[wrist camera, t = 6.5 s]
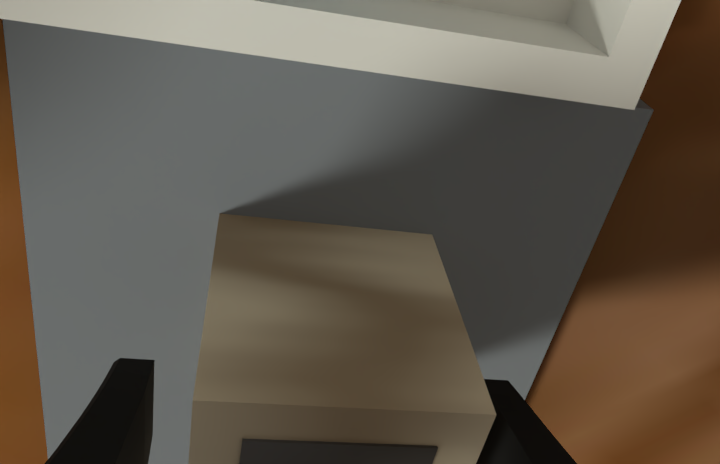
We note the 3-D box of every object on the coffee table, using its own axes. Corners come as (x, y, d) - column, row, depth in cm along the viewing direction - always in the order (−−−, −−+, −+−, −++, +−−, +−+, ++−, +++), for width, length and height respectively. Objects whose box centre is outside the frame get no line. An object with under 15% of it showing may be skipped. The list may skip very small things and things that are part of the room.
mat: (58, 453, 18) (50, 479, 17) (18, 3, 12) (1, 15, 11) (478, 467, 20) (484, 489, 19) (635, 95, 14) (653, 110, 13)
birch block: (206, 373, 16) (180, 583, 11) (219, 213, 13) (191, 403, 9) (389, 383, 16) (427, 582, 12) (432, 234, 14) (497, 417, 10)
